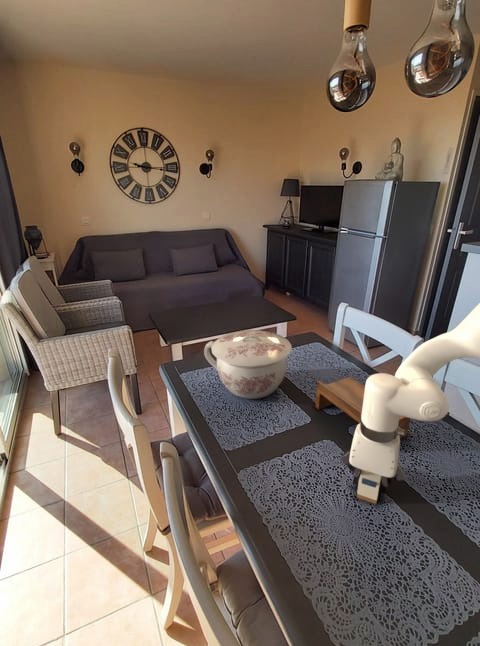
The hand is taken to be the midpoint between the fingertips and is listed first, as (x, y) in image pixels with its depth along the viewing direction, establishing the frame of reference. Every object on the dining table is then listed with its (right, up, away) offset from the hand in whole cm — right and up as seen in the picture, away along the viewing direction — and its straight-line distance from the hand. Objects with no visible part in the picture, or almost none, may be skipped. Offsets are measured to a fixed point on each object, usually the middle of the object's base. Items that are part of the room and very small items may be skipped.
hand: (368, 489), depth 86 cm
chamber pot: (-26, +17, +44) cm, 54 cm away
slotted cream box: (+1, 0, +2) cm, 2 cm away
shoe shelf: (+6, +10, +25) cm, 28 cm away
